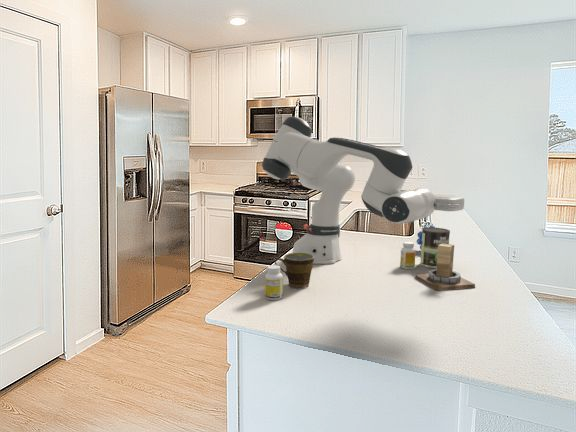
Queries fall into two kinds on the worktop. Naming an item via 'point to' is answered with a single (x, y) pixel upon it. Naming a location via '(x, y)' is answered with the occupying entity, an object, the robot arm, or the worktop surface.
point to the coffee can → (432, 245)
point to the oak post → (445, 260)
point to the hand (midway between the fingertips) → (437, 199)
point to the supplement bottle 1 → (273, 283)
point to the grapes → (419, 240)
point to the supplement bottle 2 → (407, 256)
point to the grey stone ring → (445, 280)
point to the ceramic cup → (298, 269)
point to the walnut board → (441, 286)
